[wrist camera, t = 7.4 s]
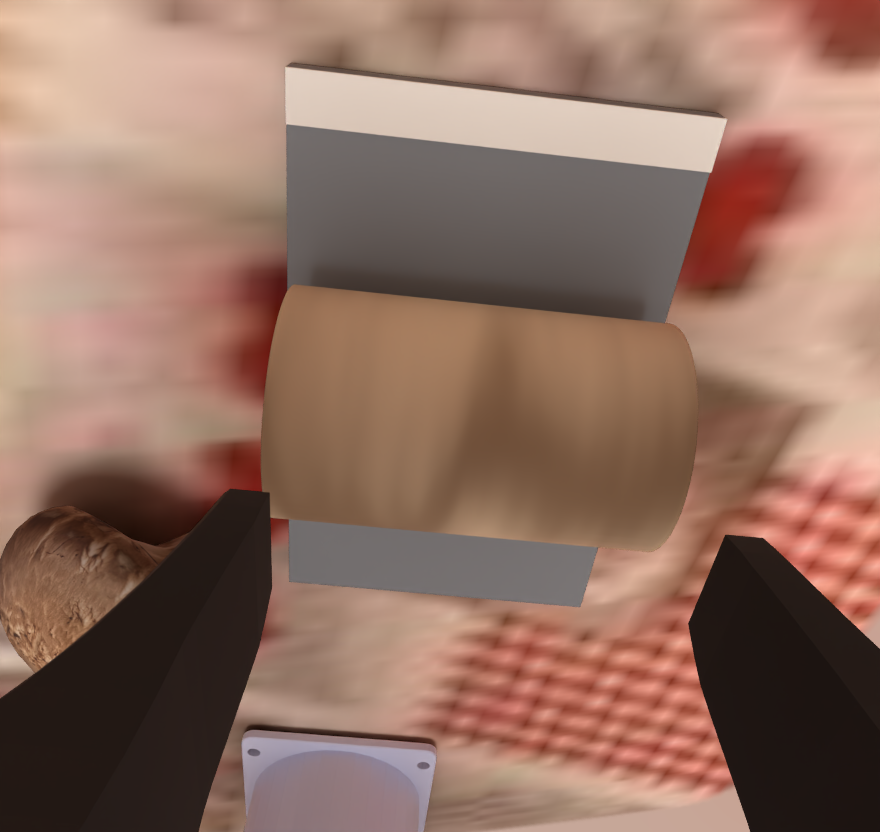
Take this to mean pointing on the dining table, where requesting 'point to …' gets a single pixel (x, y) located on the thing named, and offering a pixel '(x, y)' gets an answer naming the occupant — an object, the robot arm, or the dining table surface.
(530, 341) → the roller
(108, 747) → the robot arm
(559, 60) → the dining table surface
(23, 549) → the mushroom
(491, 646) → the dining table surface
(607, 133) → the grey board
